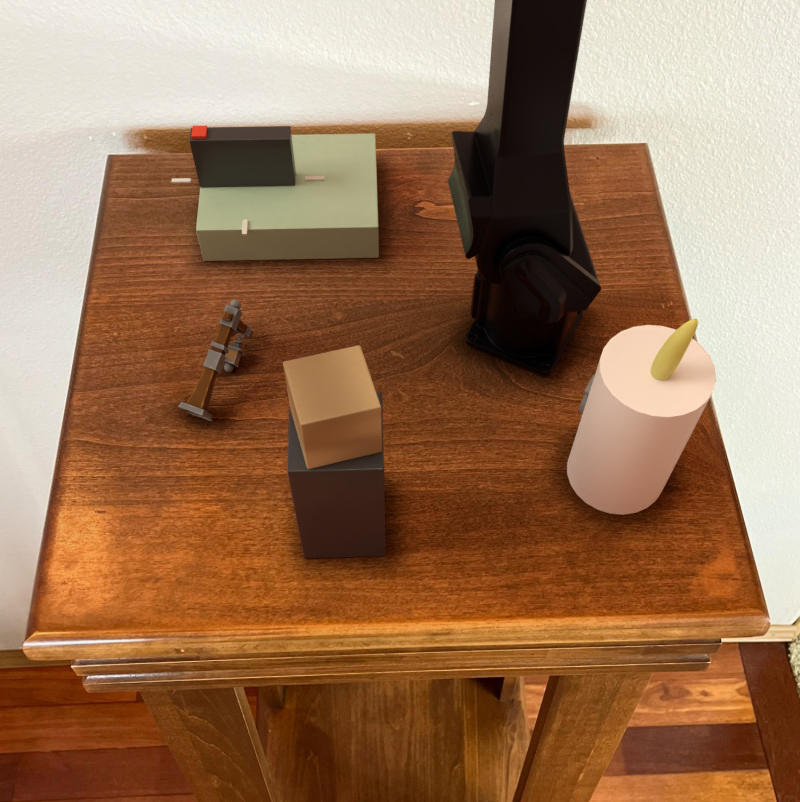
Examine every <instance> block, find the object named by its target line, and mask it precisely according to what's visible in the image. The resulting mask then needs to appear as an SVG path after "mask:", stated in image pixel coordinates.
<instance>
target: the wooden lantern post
mask: <svg viewBox="0 0 800 802" xmlns="http://www.w3.org/2000/svg"><path fill="white" fill-rule="evenodd" d="M241 307H242V304H241V301H240V300H238V299H232V300H231V301H230V303H229V304H226V303H225V305H224V310H223V312H222V314H221V318H220V320H219V321H218V324H220V326H219V328H218V331H217V333H216V336H215V339H214V341H211V342H210V344H209V346H210V349H209V348H208V349H207V354H206V357H205V360H204V362H203V364H202V367H203V370H202V373H201V375H200V377H199V379H198V381H197V383H196V385H195V387H194V389H193V391H192V393H191V395H190V397H189V398H188V400H187V401H186V402H183V401H180V403H179V405H177V407H178V408H179V409H180V410H183V411H184V412H185V413H187V414H190V415H193V416H196V417H198V418H201V419H204V420H206V421H210V422H213V417H214V415H213V414H211V413H210V412H209V411H210V404H211V400H212V395H213V392H214V388H215V383H216V380H217V377H218V375H221V372H222V368H223V369H224V371H225V372H227V373H231V372H233V370H234V368H238V369H239V363H240V361H241V356H242V355H243V356H245V355H246V353H245V352H244V351H243V350H242V349H241V348H242V346H244V343H243V341H242V340H243V339H244V338H247V339H248V338H249V339H252V336H253V334H254V330H253V329H252V327H251V326H250V325H249V324H246V323H244V322H243V321H242V320H241V318H242V316H243V314H244V312H243V311H242V310H240V309H241ZM236 335H237V339H233V344H230V342H231V340H232V338H233V337H235V336H236ZM241 335H242V336H241Z"/></svg>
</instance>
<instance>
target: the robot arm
mask: <svg viewBox="0 0 800 802" xmlns="http://www.w3.org/2000/svg"><path fill="white" fill-rule="evenodd" d="M587 2H588V0H494V4H493V5H494V7H493V18H492V33H491V44H490V45H491V47H490V60H489V73H488V75H489V76H488V86H487V87H488V88H487V89H488V90H487V99H486V100H487V101H486V108H485V112H484V115H483V117H482V118H481V120H480V121H479V123H478V125H477V126H476V127H475V129H474V130H473V131H465V130H453V131H451V132H450V135H451V142H452V148H453V152H454V163H453V166H452V170H451V173H450V175H449V177H448V179H447V184H448V188H449V192H450V196H451V201H452V205H453V209H454V214H455V218H456V221H457V227H458V230H459V235H460V239H461V244H462V248H463V251H464V256H465V258H466V259H467V260H470V259H472V258H474V260H475V264H476V267H477V271H476V273H475V274H474V277H473V285H472V294H471V303H470V312H469V315H470V317H471V319H473V320H474V322H473V324H472V325H471V326H470V328H469V330H468V331H467V333H466V334H465V336H464V343H465V344H466V345H467V346H469V347H471V348H473V349H476V350H479V351H481V352H483V353H486V354H487V355H491V356H493V357H495V358H498V359H500V360H501V361H504V362H506V363H509V364H511V365H515V366H517V367H518V368H519V367H520V368H522V369H524V370H527V371H529V372H532V373H534V374H536V375H539V376H541V377H548V376H550V375H551V374H552V373H553V371H554V369H555V367H556V366H557V364H558V362H559V360H560V358H561V357H562V355H563V353H564V351H565V350H566V348H567V346H568V345H569V342H570V341H571V339H572V337H573V335H574V334H575V332H576V330H577V329H578V327H579V325H580V324H581V322H582V319H583V316H584V312H585V311H586V310H588V308H589V307H590V305H591V304H592V303H593V301H595V299H596V297H597V296H598V295H599V293H600V292H601V290H602V286H601V283H600V280H599V277H598V274H597V271H596V268H595V265H594V262H593V258H592V255H591V252H590V249H589V246H588V243H587V241H586V237H585V234H584V230H583V227H582V225H581V221H580V218H579V216H578V212H577V209H576V207H575V203H574V199H573V197H572V194H571V191H570V190H571V189H570V182H569V176H568V168H567V160H566V154H565V153H566V152H565V137H566V131H567V123H568V119H569V113H570V105H571V100H572V94H573V87H574V81H575V76H576V75H575V74H576V69H577V64H578V57H579V51H580V45H581V40H582V39H581V38H582V32H583V27H584V21H585V15H586V9H587Z"/></svg>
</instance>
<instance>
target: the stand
mask: <svg viewBox="0 0 800 802" xmlns="http://www.w3.org/2000/svg"><path fill="white" fill-rule="evenodd" d="M376 393H377V396H378V399H379V402H380V405H381V430H382V452H379V453H375V454H371V455H367V456H362V457H358V458H354V459H350V460H345V461H341V462H337V463H333V464H328V465H324V466H320V467H316V468H311V469H308V468H307V466H306V463H305V459H304V456H303V452H302V448H301V445H300V441H299V438H298V434H297V431H296V427H295V423H294V420H293V416H292V413H291V409H290V403H289V402H288V434H287V435H288V437H287V468H286V470H287V471H286V472H287V477H288V482H289V487H290V493H291V498H292V503H293V507H294V513H295V519H296V524H297V530H298V534H299V539H300V544H301V545H300V546H301V549H302V557H303V559H328V558H329V559H331V558H332V559H334V558H365V557H366V558H369V557H370V558H371V557H385V556H386V499H385V495H386V493H385V492H386V490H385V487H386V485H385V447H384V446H385V445H384V444H385V443H384V418H383V417H384V416H383V415H384V414H383V413H384V412H383V393H382V391H376Z"/></svg>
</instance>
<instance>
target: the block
mask: <svg viewBox="0 0 800 802" xmlns="http://www.w3.org/2000/svg"><path fill="white" fill-rule="evenodd" d="M282 366H283V372H284V378H285V383H286V384H285V385H286V390H287V397H288V404H289V403H290V409H291V413H292V416H293V420H294V423H295V427H296V431H297V434H298V438H299V441H300V445H301V448H302V452H303V456H304V459H305V463H306V466H307V468H308V469H311V468H316V467H320V466H324V465H328V464H333V463H337V462H341V461H345V460H350V459H354V458H358V457H362V456H367V455H371V454H375V453H379V452H382V430H381V405H380V402H379V399H378V396H377V393H376V392H377V390H376V387H375V384H374V381H373V378H372V376H371V373H370V369H369V366H368V364H367V361H366V358H365V355H364V352H363V349H362V346H361V345H354V346H348V347H344V348H339V349H336V350H331V351H326V352H321V353H317V354H313V355H307V356H303V357H299V358H293V359H288V360H285V361H283V362H282Z"/></svg>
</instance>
